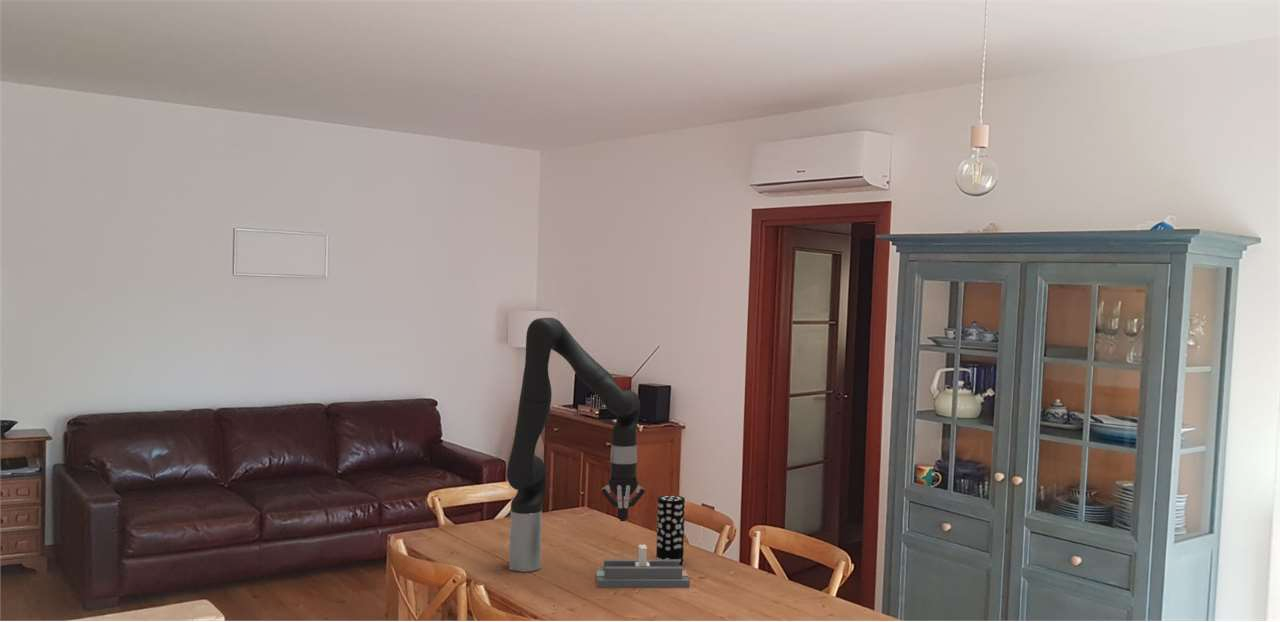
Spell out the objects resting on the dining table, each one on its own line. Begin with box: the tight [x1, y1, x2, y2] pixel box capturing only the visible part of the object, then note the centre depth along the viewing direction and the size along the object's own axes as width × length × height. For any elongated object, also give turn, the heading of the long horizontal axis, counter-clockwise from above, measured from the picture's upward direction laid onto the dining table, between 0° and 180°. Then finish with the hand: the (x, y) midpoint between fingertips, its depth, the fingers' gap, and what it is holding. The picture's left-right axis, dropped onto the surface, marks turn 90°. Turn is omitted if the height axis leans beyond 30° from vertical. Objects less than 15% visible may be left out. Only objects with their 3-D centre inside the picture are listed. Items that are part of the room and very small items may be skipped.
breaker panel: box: [595, 558, 691, 589], centre depth 273 cm, size 26×12×5 cm, turn 94°
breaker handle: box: [635, 544, 650, 566], centre depth 273 cm, size 4×4×8 cm
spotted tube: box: [655, 494, 686, 567], centre depth 291 cm, size 8×8×20 cm
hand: (622, 520), depth 272 cm, fingers closed
